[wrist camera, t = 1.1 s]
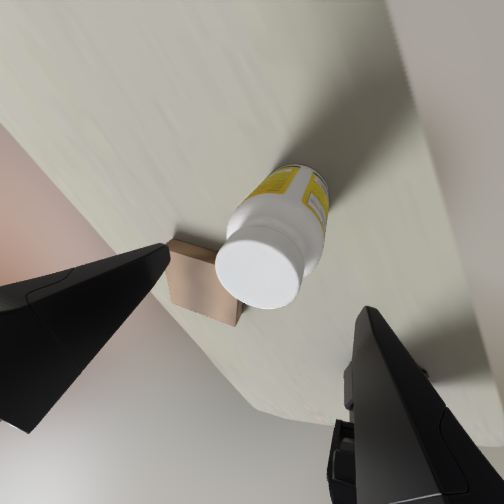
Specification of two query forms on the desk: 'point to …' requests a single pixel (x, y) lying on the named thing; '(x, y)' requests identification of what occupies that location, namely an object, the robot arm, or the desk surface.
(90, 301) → the robot arm
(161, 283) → the desk surface
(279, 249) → the supplement bottle
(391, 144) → the desk surface
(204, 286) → the base plate
